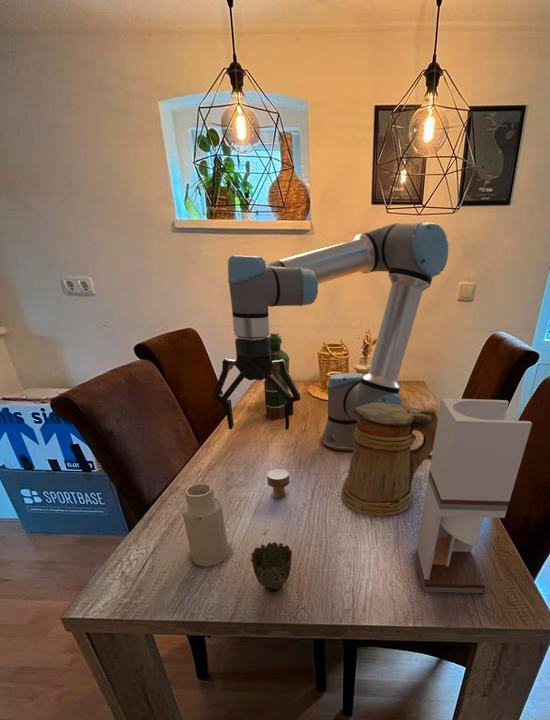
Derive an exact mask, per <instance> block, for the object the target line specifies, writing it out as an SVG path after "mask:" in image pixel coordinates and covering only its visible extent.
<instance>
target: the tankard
mask: <svg viewBox="0 0 550 720" xmlns="http://www.w3.org/2000/svg"><path fill="white" fill-rule="evenodd" d="M354 413H356V414H357V415H359V416H360V421H359V423H358V424H357V425H356V428H355V432H354V439H355V444H354V449H353V451H352V453H351V459H350V463H349V467H348V472H347V476H346V477H345V479H344V480H343V485H342V488H341V493H340V496H341V499H342V501H343V503H344V504H345V505H346V506H347V507H348V508H350V510H353V511H354V512H356V513H360V514H362V515H365V516H371V517H388V516H394V515H399V514H401V513H402V512H405V511H406V510H407V509H408V508H409V507H410V506H411V503H412V499H413V497H414V492H413V490H414V489H413V485H412V483H413V479H414V476H415V474H416V472H417V470H418V469H419V467H420V466H421V465H422V463H423V462H424V461H425V460H427V458H429V457H428V455H431V454H432V452H433V446H434V440H435V433H436V427H437V421H438V416H437V414H436V413H437V410H436V409H435V408H433V407H429V408H419V407H418V408H416V407H409V406H404V405H403V406H401V405H395V404H387V403H369V404H366V405H363V406H360V407H357V408H356V409H355V410H354ZM413 431H416V432H417V431H418V432H420V433H421V434H422V435H423V438H422V439H423V441H422V443H421V445H420V446H418V447H417V448H413V449H411V448H412V446H413V445H414V442H415V441H416V440H417V436H416V435H415V434H414V433H413Z"/></svg>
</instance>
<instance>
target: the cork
mask: <svg viewBox="0 0 550 720" xmlns="http://www.w3.org/2000/svg"><path fill="white" fill-rule="evenodd" d="M266 478H267V479H266V480H267V485H268V486H269V487H270V488H272V492H273V498H275V499H283V498H285V497H286V487H287V486H288V485H289V484H290V472H289V471H288V470H286V469H283V468H275V469H271V470H269V471H267V473H266Z"/></svg>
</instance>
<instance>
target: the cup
mask: <svg viewBox="0 0 550 720" xmlns="http://www.w3.org/2000/svg"><path fill="white" fill-rule="evenodd" d="M292 560H293V550H292V549H291V548H290V547H289V545H288V544H285V545H283V543H282V542H280V543H279V544H278V543H277V542H275V541H273V542H272V543H271V542H268V543H267V544H266V545H264V544H261V547H255V548H254V550H253V552H251V564H252V568H253V572H254V575H255V577H256V578H255V579H256V580H257V582H258V583H259V584H260V585H262V587H264V588H265V590H266V591H268V592H271V593H274V592H278V591H280V590H281V589H282V588H283V587H284V584H285V583H286V582H287V581H288V580H289V578H290V575H291V569H292Z"/></svg>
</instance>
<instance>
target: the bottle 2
mask: <svg viewBox="0 0 550 720" xmlns="http://www.w3.org/2000/svg"><path fill="white" fill-rule="evenodd" d="M269 333H270V334H269V335H268V338H269V339H270V351H271V352H276V353H277V361H278V360H280V359H284V360H285V364H286V369H287V371H288V373H289V374H290V356H289V355H288V353H287V352H285V351H284V350H283V349H281V344H283V341H282V336H281V335H280V333H279V332H269ZM278 373H279V375H280V377H281V378H282V381H283V385H284V388H285V389H286V390H287V391H288V392H289V393H290V389H289V387H288V385H287V384H286V382H285V380H284V378H283V376H282V374H281V372H280V370H278ZM284 400H285V399H284Z"/></svg>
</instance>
